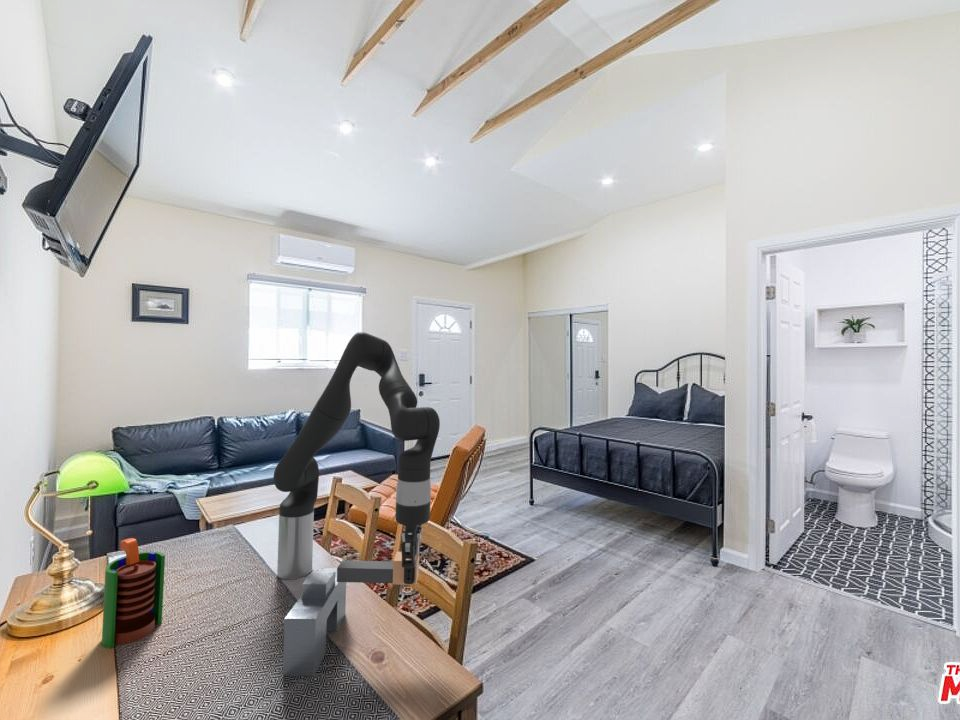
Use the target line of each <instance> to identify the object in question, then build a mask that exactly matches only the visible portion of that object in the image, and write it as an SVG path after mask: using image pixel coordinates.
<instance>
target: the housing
mask: <svg viewBox="0 0 960 720" xmlns="http://www.w3.org/2000/svg"><path fill="white" fill-rule="evenodd" d="M337 568H338V567H337ZM337 568H332V567H331V568H327V567H325V568H323V567H322V568H321V569H312V571H311V572H310V573H309V574H308V575H307V577H306V578H305V580H304V581H303V583H302V584H301V595H300V596H299V598H298V599H297V601H296V602H295V603H294V604H293V606H292V608H291V609H290V610H289V612H288V613H287V615H286V616H285V617H284V619H283V621H284V623H283V624H284V625H283V655H282V657H283V658H282V677H314V676H316V673H317V671H318V669H319V667H320V666H321V664H322V661H323V660H324V658H325V655H326V651H327V632H332V633H334V632H336V633H337V632H338V630H339V628H340V626H341V624H342V622H343V620H344V618H345V616H346V604H347V603H346V601H347V599H346V597H347V582H337Z"/></svg>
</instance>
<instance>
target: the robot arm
mask: <svg viewBox="0 0 960 720" xmlns="http://www.w3.org/2000/svg"><path fill="white" fill-rule="evenodd" d="M358 367H359V368H362V369H364V370H367V371H372V372H374V373H377V374H378V376H380V380H379V383H378V392H379V395H380V397H381V400H383V402H384V405H385V406H386V408H387V410H388V413H389V417H390V418H389V419H390V429H391V433H392V435H393V436H394V437H395V438H396V439H398V440H400V441H403V442H409V441H416V443H415V444H414V446H412V447H411V448H409V449H406V450H404V451H402V452H401V453H400V454H399V455H398V461H397V462H398V463H397V483H396V489H395V519H394V520H395V521H396V523H398V524H399V525H401V526H404V527H403V530H402V533H401V539H402V543H400V544H401V545H400V547H401V552H402V567H404V583H405V584H413V583H414V581H415V565H416V555H417V554H418V552H419V553H420V547H421V544H422V534H423V526H422V525H425V524H427V523H428V522H429V521H430V519H431V499H432V497H431V495H432V485H431V460H432V457H433V456H432V455H433V452H434V449H435V445H436V442H437V439H438V436H439V431H440V428H441V427H440V425H441V423H440V422H441V420H440V416H439V413H438V412H437V411H436V409H434V408H433V407H429V406H427V407H426V406H425V407H424V406H423V407H417V406H418V398H417V396H416V394H415V392H414V391H413V389H412V388H411V386H410V385H409V383H408V382H407V381H406V379H405V378H404V376H403V374H402V372H401V370H400V367H399V363H398V362H397V358H396V355H395V354H394V350H393V348H392V347H391V345H390V343H388V342H387V340H384V339H383V338H380V337H378V336H375V335H372V334H370V333H368V332H367V333H366V332H365V331H357V332H356V333H355V334H354V335H353V336H352V337H351V338H350V340H348V343H347V345H346V346H345V349H344V351H343V353H342V355H341V357H340V359H339V361H338V363H337V365H336V368H335V371H334V372H333V375H332V376H331V378H330V379H329V382H328V383H327V385H326V387H324V390H323V391H322V393H321V396H320V397H319V398H318V400H317V401H316V403H315V405H314V407H313V409H312V410H311V411H310V414H309V416H308V417H307V420H306V421H305V423H304V425H302V428H301V429H300V431H299V432H298V434H297V436H296V437H295V440H294V441H293V442H292V443H291V445H290V446H289V448H288V449H287V451H286V452H285V453H284V454H283V456H282V457H281V459H280V460H279V462H278V463H277V465H276V467H275V468H274V472H273V484H274V486H275V488H276V489H277V490H278V491H280V492H283V493H288V495H287V496H286V497H285V499H283V500H282V501H281V502H280V504H279V508H278V510H279V511H278V542H277V543H278V544H277V545H278V546H277V547H278V548H277V571H276V573H277V574H276V575H277V577H278V578H279V579H282V580H297V579H301V578H303V577H306V576H308V575H310V573H311V572H312V571H313V557H314V556H313V553H314V552H313V551H314V520H315V519H314V517H315V516H314V515H315V504H316V502H317V500H318V493H319V492H318V491H319V479H320V471H319V470H320V469H319V464H318V462H317V459H316V458H315V457H314V456H315V455H316V454H317V453H318V452H319V451H320V450H322V448H324V446H326V445H327V444H328V443H329V442H330V441H331V440H332V439H333V438H334V437H336V435H337V434H338V433H339V432H340V430H341V429H342V428H343V425H344V424H345V422H346V420H347V419H348V417H349V415H350V413H351V410H352V397H351V389H350V387H351V386H350V385H351V380H352V377H353V375H354V373H355V371H356V369H357V368H358ZM407 559H411V560H407Z"/></svg>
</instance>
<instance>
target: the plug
mask: <svg viewBox="0 0 960 720" xmlns="http://www.w3.org/2000/svg"><path fill="white" fill-rule="evenodd" d="M407 560H411V559H407ZM419 574H420V552H418V554H417V555H416V565H415V581H414V583H413V584H405V583H404V567H402V551H397V552H396V553H395V555H394V558H393V561H385V560H383V561H380V560H341V562H340V563H339V565H337V582H346V583H363V584H364V583H366V584H368V583H370V584H372V583H373V584H392V585H395V586H396V585H402V586H403V585H405V586H406V585H408V586H416V585H417V582H418V578H419Z"/></svg>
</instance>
